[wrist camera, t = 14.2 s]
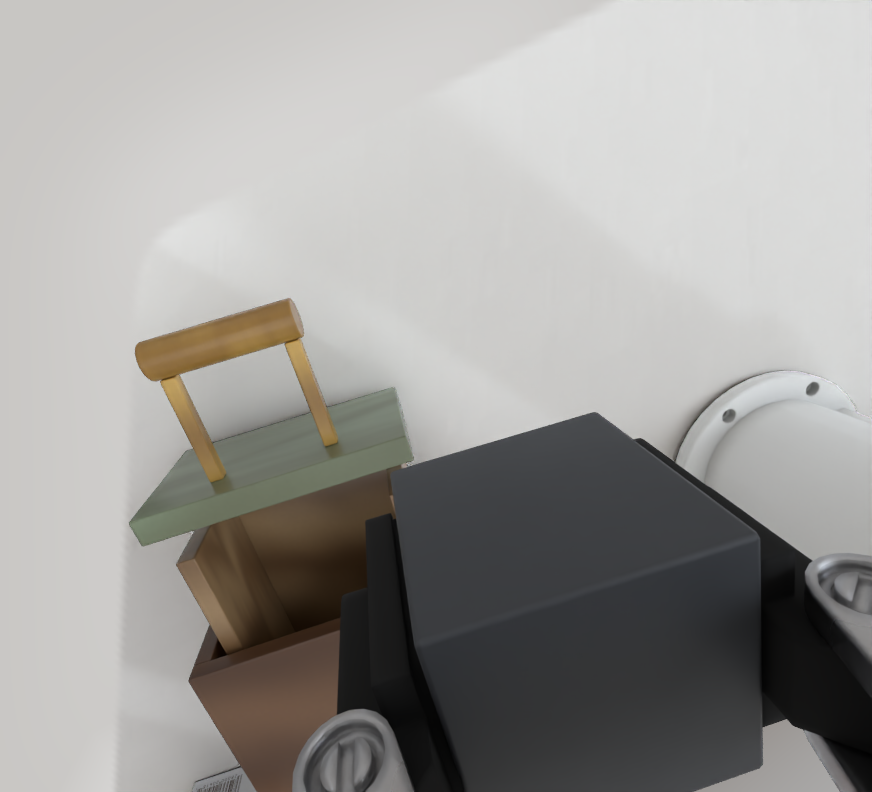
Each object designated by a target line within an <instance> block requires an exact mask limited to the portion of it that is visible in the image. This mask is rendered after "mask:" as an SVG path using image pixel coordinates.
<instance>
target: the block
mask: <svg viewBox="0 0 872 792" xmlns="http://www.w3.org/2000/svg"><path fill="white" fill-rule="evenodd" d="M390 479H391V486H392V493H393V500H394V507H395V514H396V521H397V528H398V535H399V542H400V549H401V556H402V563H403V570H404V577H405V584H406V591H407V598H408V606H409V613H410V620H411V627H412V634H413V641H414V646H415V649H416V652H417V655H418V658H419V661H420V664H421V667H422V670H423V673H424V676H425V678H426V681H427V684H428V687H429V690H430V693H431V696H432V699H433V702H434V705H435V708H436V711H437V713H438V716H439V719H440V722H441V725H442V728H443V731H444V734H445V737H446V740H447V743H448V746H449V748H450V751H451V754H452V757H453V760H454V763H455V766H456V769H457V772H458V775H459V778H460V781H461V783H462V786H463V789H464V792H694V791H696V790H699V789H702V788H705V787H708V786H711V785H714V784H716V783H719V782H722V781H725V780H728V779H730V778H734V777H736V776H739V775H742V774H745V773H748V772H750V771H753V770H756V769H759V768H760V767H761V766H762V765H763V738H762V644H761V555H760V537H759V535H758V534H757V532H756V531H755V530H753V529H752V528H751V527H749V526H748V525H747V524H745V523H744V522H743V521H741V520H740V519H739V518H737V517H736V516H735V515H733V514H732V513H731V512H729V511H728V510H727V509H725V508H724V507H723V506H721V505H720V504H719V503H717V502H716V501H715V500H713V499H712V498H711V497H709V496H708V495H707V494H705V493H704V492H703V491H701V490H700V489H699V488H697V487H696V486H695V485H693V484H692V483H691V482H689V481H688V480H687V479H685V478H684V477H683V476H681V475H680V474H679V473H677V472H676V471H675V470H673V469H672V468H671V467H669V466H668V465H666V464H665V463H664V462H662V461H661V460H660V459H658V458H657V457H656V456H654V455H653V454H652V453H650V452H649V451H648V450H646V449H645V448H644V447H642V446H641V445H640V444H638V443H637V442H636V441H634V440H633V439H632V438H630V437H629V436H628V435H626V434H625V433H624V432H622V431H621V430H620V429H618V428H617V427H616V426H614V425H613V424H612V423H610V422H609V421H608V420H606V419H605V418H604V417H602V416H601V415H600V414H598V413H596V412H593V413H589V414H586V415H582V416H579V417H576V418H572V419H569V420H565V421H562V422H559V423H555V424H552V425H548V426H545V427H542V428H538V429H535V430H531V431H528V432H525V433H521V434H518V435H514V436H511V437H508V438H504V439H501V440H498V441H494V442H491V443H487V444H484V445H481V446H477V447H474V448H470V449H467V450H464V451H460V452H457V453H453V454H450V455H447V456H443V457H440V458H436V459H433V460H430V461H426V462H423V463H419V464H416V465H413V466H409V467H406V468H402V469H399V470H396V471H393V472H392V473H391V475H390Z"/></svg>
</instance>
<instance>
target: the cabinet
mask: <svg viewBox="0 0 872 792" xmlns="http://www.w3.org/2000/svg"><path fill="white" fill-rule="evenodd" d="M339 643H340V618H338V619H335V620H332V621H329V622H326V623H323V624H320V625H317V626H314V627H311V628H308V629H305V630H302V631H299V632H295V633H292V634H289V635H286V636H283V637H280V638H277V639H274V640H271V641H268V642H265V643H262V644H259V645H256V646H253V647H250V648H247V649H244V650H241V651H238V652H235V653H232V654H229V655H227V654H226V652H225V650H224V649H223V647H222V645H221V643H220V642H219V640H218V638H217V636H216V634H215V633H214V631H213V629H212V627H211V626H210V625H209V628H208V630H207V633H206V635H205V638H204V641H203V643H202V646H201V649H200V651H199V654H198V656H197V659H196V662H195V664H194V667H193V670H192V672H191V675H190V677H189V683H190V685H191V686H192V688H193V690H194V691H195V693H196V695H197V696H198V698H199V699H200V701H201V703H202V704H203V706H204V707H205V709H206V711H207V712H208V714H209V716H210V717H211V719H212V720H213V722H214V724H215V725H216V727H217V728H218V730H219V732H220V733H221V735H222V737H223V738H224V740H225V741H226V743H227V745H228V746H229V748H230V749H231V751H232V753H233V754H234V756H235V758H236V759H237V761H238V762H239V764H240V766H241V767H242V769H243V771H244V772H245V774H246V775H247V777H248V779H249V780H250V782H251V783H252V785H253V787H254V788H255V790H256V792H292V783H293V771H294V768H295V765H296V762H297V759H298V756H299V754H300V752H301V750H302V749H303V747H304V745H305V744H306V742H307V740H308V739H309V738H310V737H311V736H312V735H313V733H314V732H315V731H316V730H317V729H318V728H319V727H320V726H321V725H322V724H324V723H325V722H327V721H328V720H330V719H331V718H332V717H334V716H336V715H337V695H338V669H339Z"/></svg>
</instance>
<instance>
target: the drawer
mask: <svg viewBox="0 0 872 792" xmlns="http://www.w3.org/2000/svg"><path fill="white" fill-rule="evenodd" d="M303 336H304V329H303V325H302V321H301V318H300V315H299V313H298V310H297V308H296V306H295V304H294V302H293V301H292V300H291V299H290V298H287V299H284V300H280V301H277V302H273V303H270V304H267V305H263V306H260V307H257V308H253V309H250V310H246V311H243V312H240V313H236V314H233V315H230V316H226V317H223V318H219V319H216V320H213V321H209V322H206V323H203V324H199V325H196V326H193V327H189V328H186V329H182V330H179V331H176V332H172V333H169V334H166V335H162V336H159V337H155V338H152V339H149V340H145V341H142V342H139V343H138V344H137V345H136V347H135V356H136V360H137V363H138V365H139V367H140V369H141V371H142V372H143V374H144V375H145V376H146V377H147V378H148V379H150V380H151V381H159V380H162V381H160V383H161V385H162V387H163V389H164V391H165V393H166V395H167V397H168V399H169V401H170V403H171V405H172V407H173V409H174V411H175V413H176V415H177V417H178V419H179V421H180V423H181V425H182V427H183V429H184V431H185V433H186V435H187V437H188V439H189V441H190V443H191V445H192V447H193V449H191V450H188V451H186V452H185V453H184V454H183V455H182V457H181V458H180V459H179V460H178V462H177V463H176V464H175V465H174V467H173V468H172V469H171V471H170V472H169V473H168V474H167V476H166V477H165V478H164V479H163V481H162V482H161V483H160V484H159V486H158V487H157V488H156V489H155V491H154V492H153V493H152V494H151V496H150V497H149V498H148V499H147V501H146V502H145V503H144V504H143V506H142V507H141V508H140V509H139V511H138V512H137V513H136V514H135V516H134V517H133V518H132V519H131V521H130V522H129V525H130V527H131V528H132V530H133V532H134V534H135V535H136V537H137V539H138V540H139V542H140V544H141V546H146V545H149V544H152V543H156V542H159V541H162V540H165V539H168V538H171V537H174V536H178V535H181V534H184V533H187V532H190V531H193V530H195V531H194V533H193V535H192V536H191V538H190V540H189V542H188V544H187V546H186V547H185V549H184V551H183V553H182V555H181V556H180V558H179V560H178V562H177V564H176V566H177V567H178V569H179V571H180V573H181V574H182V576H183V578H184V580H185V581H186V583H187V585H188V587H189V589H190V590H191V592H192V594H193V596H194V597H195V599H196V601H197V603H198V604H199V606H200V608H201V610H202V612H203V613H204V615H205V617H206V619H207V620H208V622H209V624H210V626H211V627H212V629H213V631H214V633H215V634H216V636H217V638H218V640H219V642H220V643H221V645H222V647H223V649H224V650H225V652H226V654H227V655H229V654H232V653H235V652H238V651H241V650H244V649H247V648H250V647H253V646H256V645H259V644H262V643H265V642H268V641H271V640H274V639H277V638H280V637H283V636H286V635H289V634H292V633H295V632H299V631H302V630H305V629H308V628H311V627H314V626H317V625H320V624H323V623H326V622H329V621H332V620H335V619H338V618H340V617H341V600H342V596H343V595H344V594H347V593H350V592H354V591H357V590H360V589H363V588H367V559H366V530H365V521H366V520H368V519H371V518H375V517H378V516H381V515H385V514H388V513H391V514H392V516H393V519H396V514H395V507H394V500H393V493H392V486H391V479H390V475H391V473H392V472H393V471H396V470H399V469H402V468H406V467H407V465H406V463H407V462H410V461H413V460H414V458H413V454H412V449H411V445H410V441H409V437H408V433H407V429H406V424H405V420H404V416H403V412H402V408H401V404H400V401H399V398H398V395H397V392H396V389H395V387H392V388H388V389H385V390H382V391H379V392H376V393H372V394H369V395H366V396H363V397H359V398H356V399H353V400H350V401H346V402H343V403H340V404H337V405H334V406H330V407H326V404H325V401H324V399H323V396H322V393H321V391H320V388H319V385H318V383H317V380H316V378H315V375H314V372H313V370H312V367H311V364H310V362H309V359H308V356H307V354H306V351H305V349H304V346H303V343H302V341H301V338H302V337H303ZM282 343H285V347H286V350H287V352H288V355H289V357H290V360H291V362H292V365H293V368H294V370H295V373H296V375H297V378H298V380H299V383H300V385H301V388H302V390H303V393H304V396H305V398H306V401H307V403H308V406H309V408H310V411H311V413H308V414H304V415H301V416H298V417H295V418H291V419H288V420H285V421H282V422H279V423H275V424H272V425H269V426H266V427H262V428H259V429H256V430H253V431H249V432H246V433H243V434H240V435H237V436H233V437H230V438H227V439H224V440H220V441H217V442H214V443H212V442H211V439H210V437H209V435H208V433H207V431H206V429H205V427H204V425H203V423H202V421H201V419H200V417H199V415H198V412H197V410H196V408H195V406H194V404H193V402H192V400H191V398H190V396H189V394H188V392H187V390H186V388H185V385H184V383H183V381H182V379H181V377H180V375H179V374H183V373H186V372H189V371H193V370H196V369H199V368H203V367H206V366H209V365H213V364H216V363H219V362H223V361H226V360H229V359H232V358H236V357H239V356H242V355H246V354H249V353H252V352H256V351H259V350H262V349H266V348H269V347H272V346H276V345H279V344H282Z"/></svg>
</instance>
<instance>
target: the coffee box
mask: <svg viewBox="0 0 872 792" xmlns="http://www.w3.org/2000/svg"><path fill="white" fill-rule="evenodd" d="M192 792H256V790H255V788H254V787H253V785H252V783H251V782H250V780H249V779H248V777H247V775H246V774H245V772H244V771H243V769H242V767H240V768H237V769H234V770H231V771H228V772H225V773H222V774H219V775H216V776H213V777H210V778H207V779H204V780H201V781H198V782H195V783H194V786H193V789H192Z"/></svg>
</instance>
